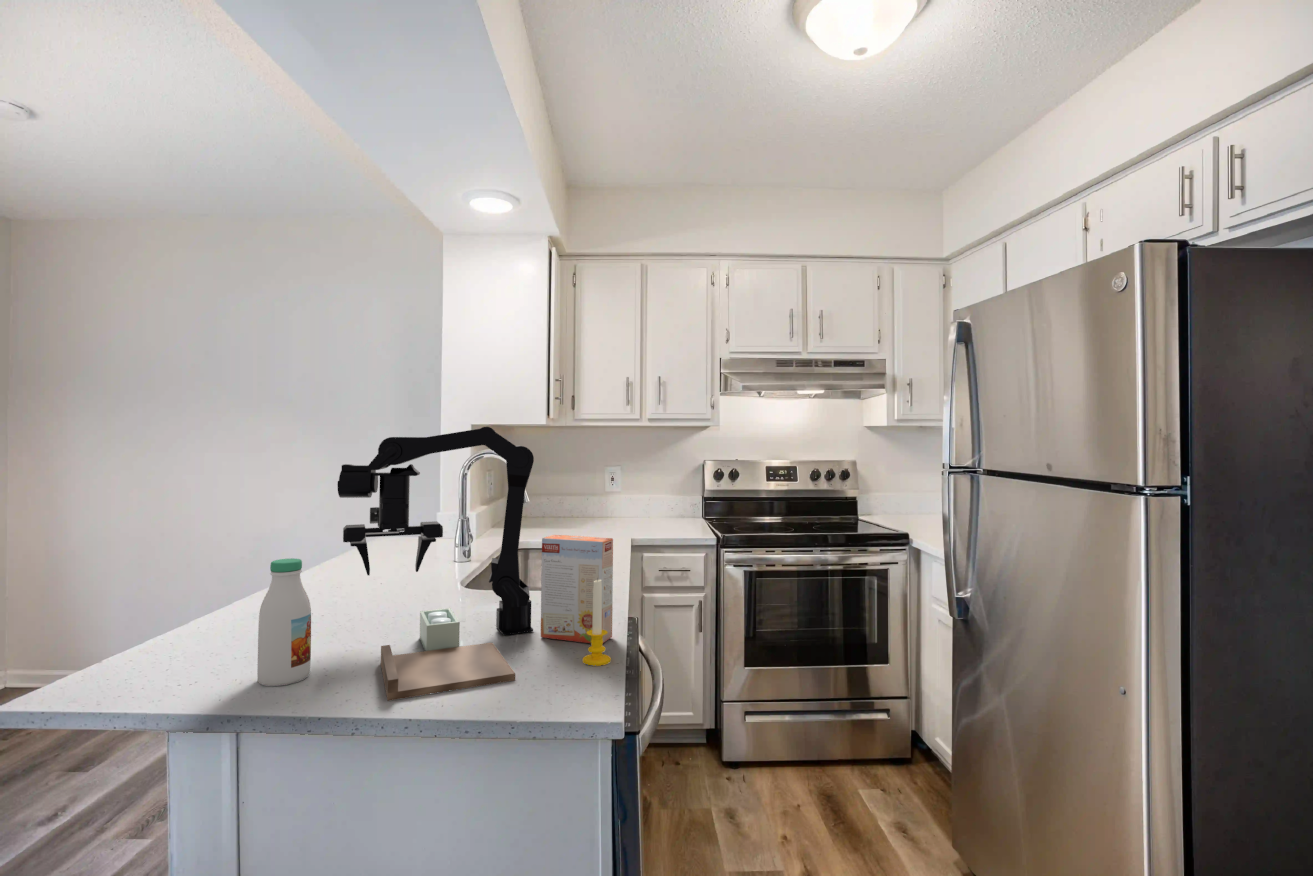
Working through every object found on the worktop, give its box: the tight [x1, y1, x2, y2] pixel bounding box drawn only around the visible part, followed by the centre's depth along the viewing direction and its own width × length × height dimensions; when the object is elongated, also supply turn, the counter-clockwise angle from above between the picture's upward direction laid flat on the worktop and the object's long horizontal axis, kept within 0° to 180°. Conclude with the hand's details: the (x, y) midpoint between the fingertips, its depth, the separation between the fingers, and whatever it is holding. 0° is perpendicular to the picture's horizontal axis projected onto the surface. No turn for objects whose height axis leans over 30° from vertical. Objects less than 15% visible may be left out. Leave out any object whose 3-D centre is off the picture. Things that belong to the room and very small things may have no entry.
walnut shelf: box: [380, 642, 516, 702], centre depth 110 cm, size 20×18×3 cm
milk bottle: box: [257, 557, 312, 687], centre depth 106 cm, size 8×8×20 cm
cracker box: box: [540, 534, 614, 644], centre depth 130 cm, size 14×6×21 cm, turn 71°
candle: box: [582, 578, 612, 667], centre depth 116 cm, size 5×5×16 cm
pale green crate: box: [419, 607, 461, 651], centre depth 125 cm, size 6×11×6 cm, turn 27°
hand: (392, 573), depth 129 cm, fingers open, 9 cm apart
